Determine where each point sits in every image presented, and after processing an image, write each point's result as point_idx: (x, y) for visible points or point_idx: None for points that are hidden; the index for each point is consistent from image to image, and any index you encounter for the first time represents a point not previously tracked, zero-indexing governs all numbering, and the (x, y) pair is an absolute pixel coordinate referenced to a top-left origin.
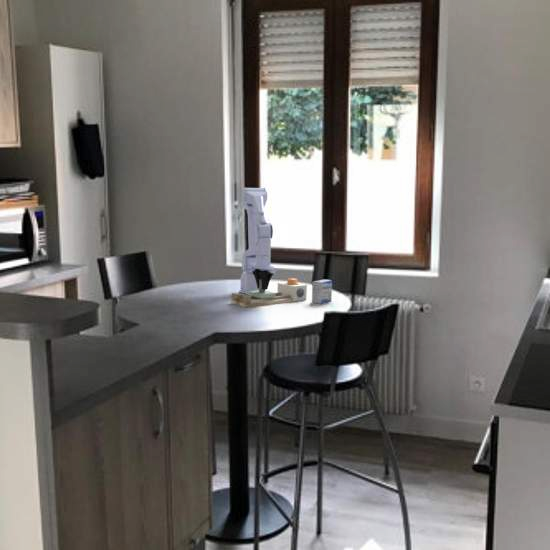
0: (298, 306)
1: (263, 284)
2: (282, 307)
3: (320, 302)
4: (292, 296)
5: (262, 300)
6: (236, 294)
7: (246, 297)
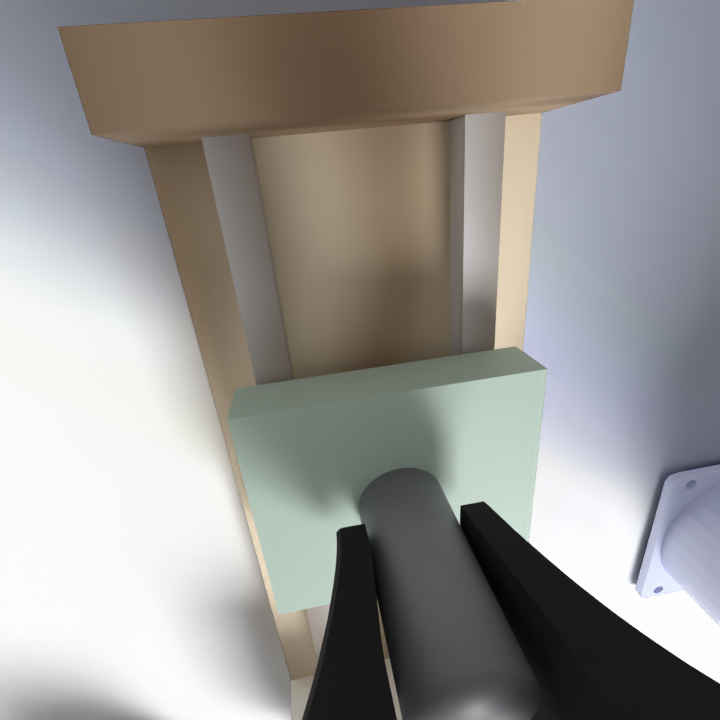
0: (58, 626)
1: (329, 613)
2: (41, 495)
3: None
4: (302, 694)
5: None
6: (484, 3)
7: (106, 26)
